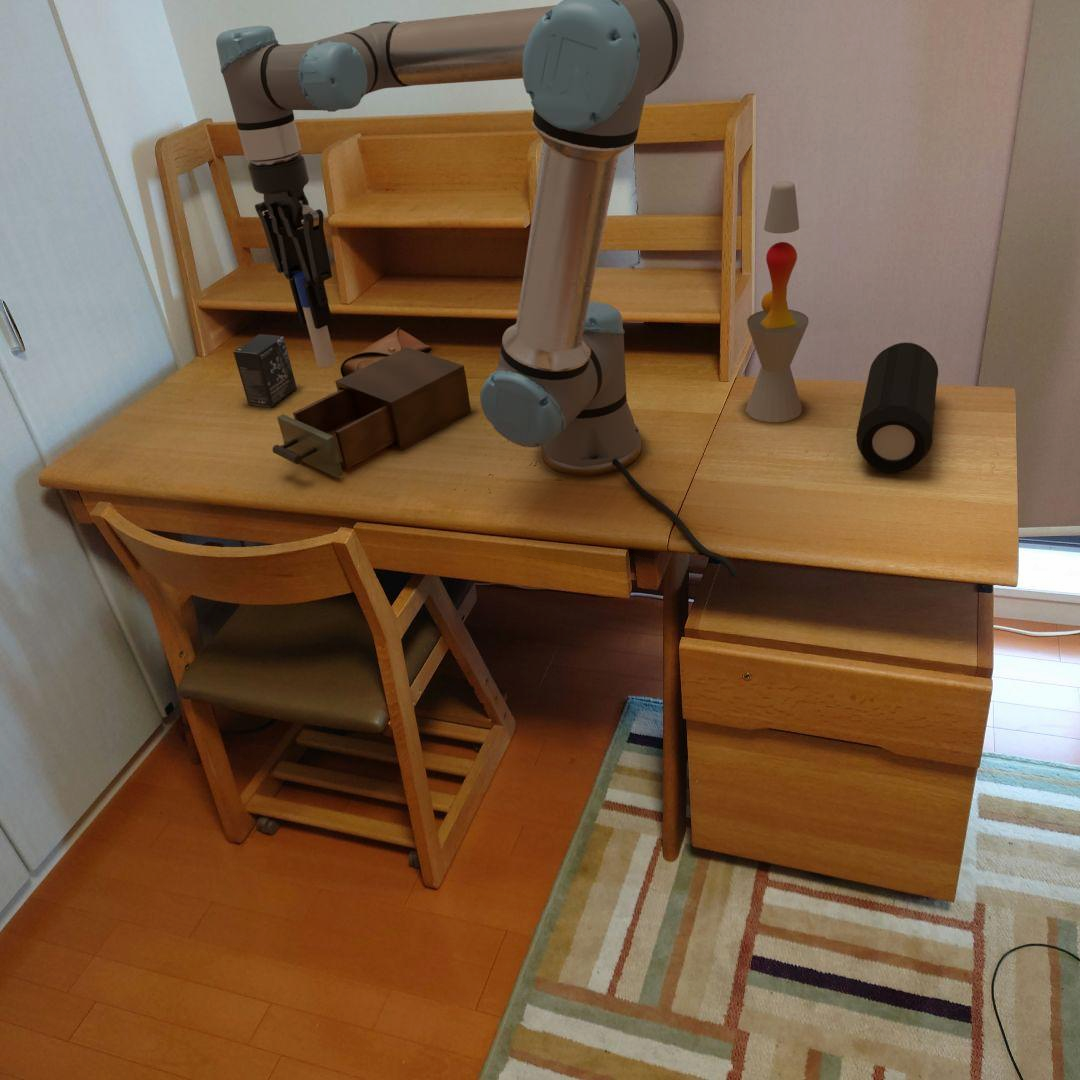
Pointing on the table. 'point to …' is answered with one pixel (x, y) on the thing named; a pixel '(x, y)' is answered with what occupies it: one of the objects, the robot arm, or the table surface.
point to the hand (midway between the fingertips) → (316, 322)
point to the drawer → (336, 432)
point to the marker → (318, 336)
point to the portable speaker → (898, 408)
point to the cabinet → (413, 392)
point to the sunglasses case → (382, 351)
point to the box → (265, 370)
